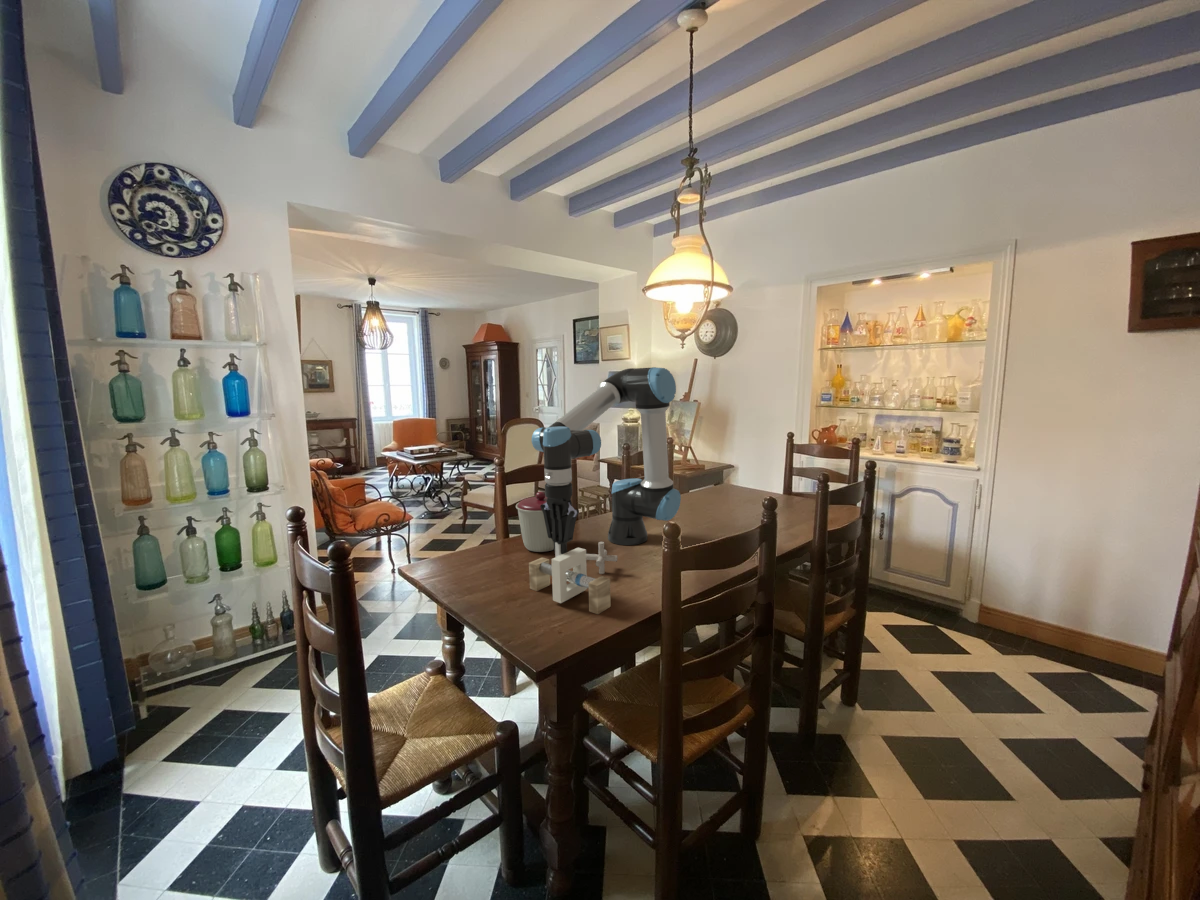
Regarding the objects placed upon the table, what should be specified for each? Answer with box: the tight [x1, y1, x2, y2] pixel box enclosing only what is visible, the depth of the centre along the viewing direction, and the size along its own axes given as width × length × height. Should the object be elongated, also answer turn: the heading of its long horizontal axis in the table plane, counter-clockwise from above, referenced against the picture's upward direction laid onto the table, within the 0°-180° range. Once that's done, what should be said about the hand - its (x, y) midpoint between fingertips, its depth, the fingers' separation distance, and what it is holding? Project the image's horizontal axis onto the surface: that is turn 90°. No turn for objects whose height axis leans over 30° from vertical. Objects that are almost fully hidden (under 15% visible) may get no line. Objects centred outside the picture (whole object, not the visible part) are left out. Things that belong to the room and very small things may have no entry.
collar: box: [551, 547, 588, 604], centre depth 134 cm, size 3×11×12 cm, turn 141°
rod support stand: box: [528, 557, 612, 615], centre depth 135 cm, size 26×6×8 cm, turn 51°
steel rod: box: [539, 562, 596, 590], centre depth 134 cm, size 25×3×3 cm, turn 51°
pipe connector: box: [586, 541, 618, 575], centre depth 151 cm, size 10×10×10 cm
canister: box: [515, 491, 554, 553], centre depth 174 cm, size 18×18×21 cm
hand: (560, 563), depth 135 cm, fingers closed
